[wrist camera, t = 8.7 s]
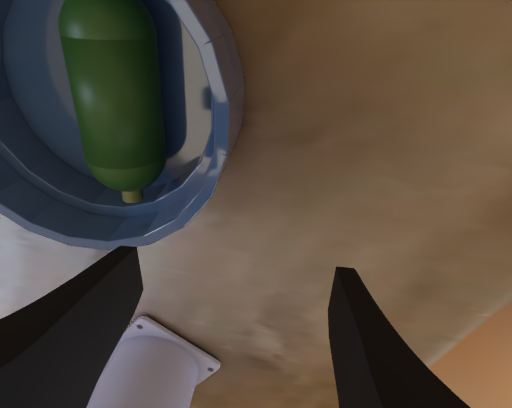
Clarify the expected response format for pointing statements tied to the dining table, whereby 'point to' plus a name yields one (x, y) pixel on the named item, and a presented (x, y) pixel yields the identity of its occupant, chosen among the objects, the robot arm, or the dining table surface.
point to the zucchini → (115, 91)
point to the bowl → (68, 136)
